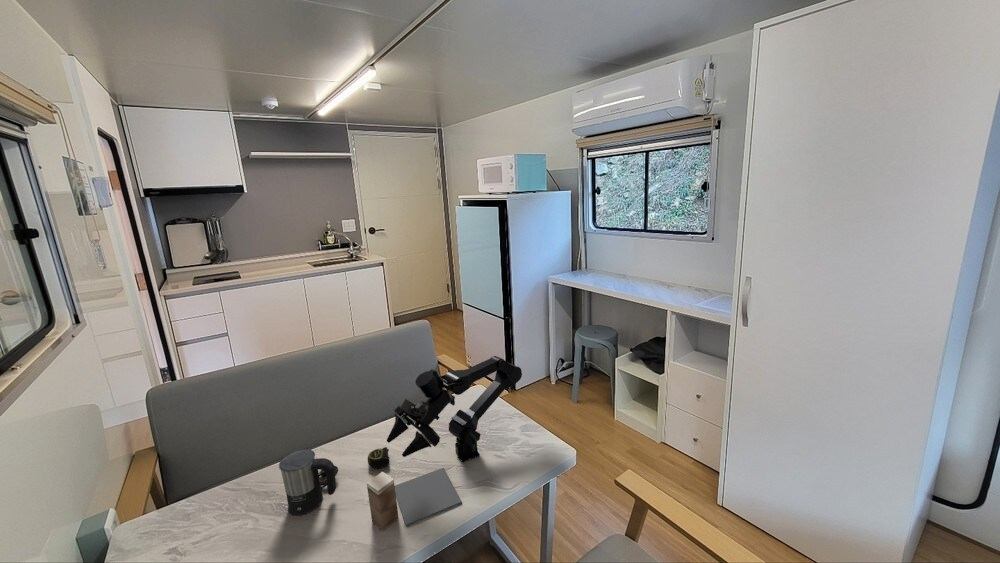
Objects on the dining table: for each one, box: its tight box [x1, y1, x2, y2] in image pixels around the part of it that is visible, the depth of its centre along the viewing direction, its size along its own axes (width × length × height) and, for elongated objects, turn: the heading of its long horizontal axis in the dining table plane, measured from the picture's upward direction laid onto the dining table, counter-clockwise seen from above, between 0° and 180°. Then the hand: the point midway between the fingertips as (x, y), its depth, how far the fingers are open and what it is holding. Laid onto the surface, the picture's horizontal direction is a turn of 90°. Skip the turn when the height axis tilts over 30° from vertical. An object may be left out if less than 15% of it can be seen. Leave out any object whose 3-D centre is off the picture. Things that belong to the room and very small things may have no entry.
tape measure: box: [367, 446, 390, 469], centre depth 126 cm, size 7×7×4 cm
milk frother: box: [278, 448, 339, 517], centre depth 113 cm, size 14×16×15 cm
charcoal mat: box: [394, 467, 463, 527], centre depth 112 cm, size 16×16×1 cm
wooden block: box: [366, 471, 399, 532], centre depth 102 cm, size 5×5×12 cm
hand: (394, 448), depth 109 cm, fingers open, 9 cm apart
